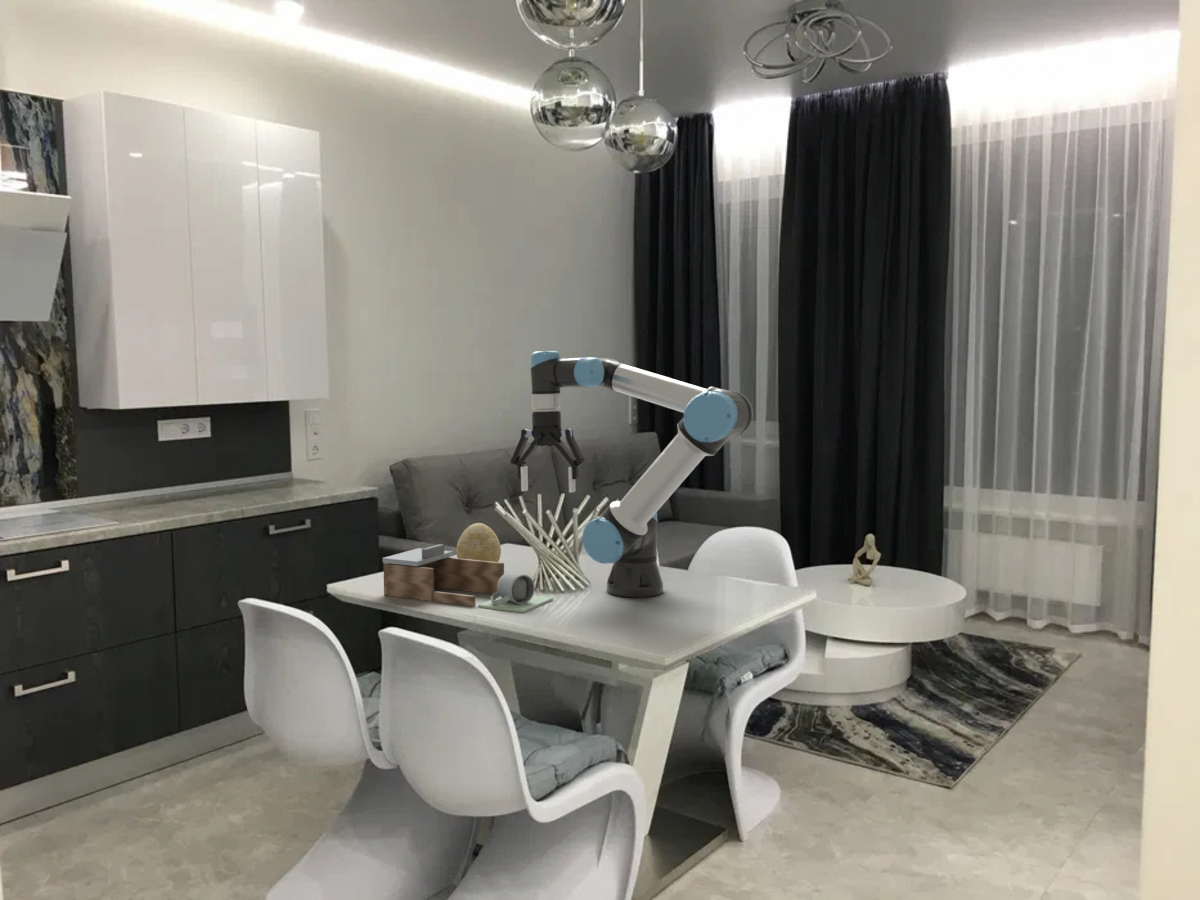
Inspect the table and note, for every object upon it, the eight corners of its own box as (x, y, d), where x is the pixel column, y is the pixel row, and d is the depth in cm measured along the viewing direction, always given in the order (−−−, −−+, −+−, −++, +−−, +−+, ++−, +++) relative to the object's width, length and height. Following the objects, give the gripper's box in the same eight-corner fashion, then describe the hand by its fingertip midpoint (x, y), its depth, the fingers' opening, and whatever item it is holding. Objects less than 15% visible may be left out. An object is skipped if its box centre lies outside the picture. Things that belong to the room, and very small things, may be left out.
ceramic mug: (517, 596, 258) (516, 568, 257) (535, 602, 252) (535, 573, 251) (484, 603, 251) (483, 574, 251) (501, 608, 245) (501, 579, 245)
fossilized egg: (462, 569, 295) (461, 519, 294) (504, 570, 294) (504, 520, 292) (451, 578, 282) (451, 526, 281) (496, 579, 281) (495, 527, 280)
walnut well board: (504, 594, 263) (504, 562, 262) (473, 606, 250) (473, 573, 249) (417, 584, 275) (417, 554, 274) (384, 595, 261) (383, 563, 261)
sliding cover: (452, 555, 270) (452, 542, 269) (417, 566, 255) (417, 552, 255) (419, 552, 274) (418, 539, 274) (382, 562, 260) (382, 548, 260)
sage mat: (552, 600, 257) (552, 597, 257) (523, 612, 243) (523, 610, 243) (509, 594, 262) (509, 592, 262) (478, 607, 249) (478, 604, 249)
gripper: (596, 409, 260) (597, 490, 261) (509, 410, 269) (511, 488, 270) (585, 410, 253) (587, 494, 254) (496, 411, 262) (499, 492, 263)
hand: (548, 491), depth 262 cm, fingers open, 13 cm apart
